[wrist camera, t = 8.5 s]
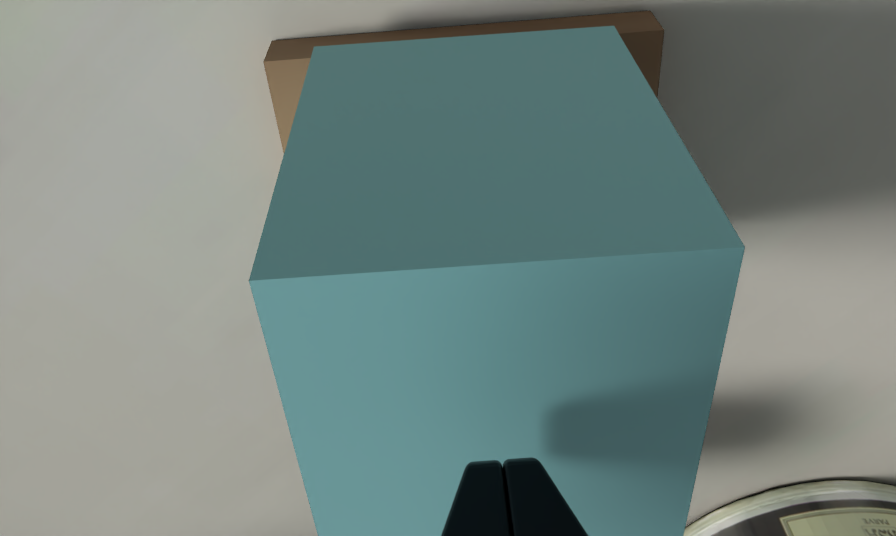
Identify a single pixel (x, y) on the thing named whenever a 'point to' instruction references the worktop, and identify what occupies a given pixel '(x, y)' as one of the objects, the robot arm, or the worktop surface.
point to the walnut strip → (293, 55)
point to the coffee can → (807, 512)
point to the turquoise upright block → (492, 281)
